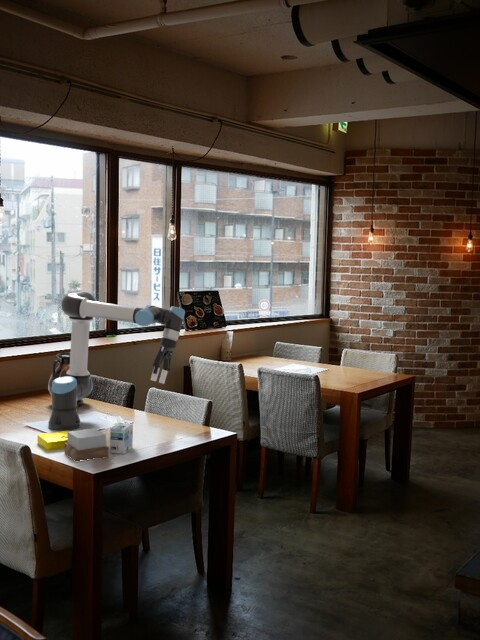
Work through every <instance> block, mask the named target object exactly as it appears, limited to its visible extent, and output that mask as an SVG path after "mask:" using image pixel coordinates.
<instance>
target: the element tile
mask: <svg viewBox="0 0 480 640" xmlns="http://www.w3.org/2000/svg"><path fill="white" fill-rule="evenodd" d="M67 432H70V430H60V431H54V432H53V431H52V432H46V433H45V432H44V433H38V434H37V438H36V439H37V442H36V443H37V445H38V446H40V447H41V448H42V449H43V450H44V451H47V452H53V451H58V450H65V443H67Z"/></svg>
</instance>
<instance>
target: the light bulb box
mask: <svg viewBox="0 0 480 640" xmlns="http://www.w3.org/2000/svg"><path fill="white" fill-rule="evenodd" d="M133 430H134V424H133V423H123V422H118V423H117V424H115V425H113V426H112V427H110V430H109V433H110V434H109V435H110V437H109V439H110V440H109V442H110V444H109V446H110V447H109V450H110V451H109V452H110V454H111V453H113V454H120V455H121V454H122V455H124V454H126V453H128V452H129V451H131V449H133V447H134V446H133V445H134V444H133V443H134V442H133V441H134V440H133V437H134V431H133Z"/></svg>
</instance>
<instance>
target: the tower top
mask: <svg viewBox="0 0 480 640" xmlns="http://www.w3.org/2000/svg"><path fill="white" fill-rule="evenodd" d="M69 431H70V430H69ZM106 438H107V434H105V433H104V432H102V431H101V430H98V429H96V428H87V429H78V430H72V431H70V432H67V443H68V444H69V445H71V446H72V447H74V448H76V449H77V450H85V449H91V448H98V447H104V446H107V445H106V444H107V439H106Z"/></svg>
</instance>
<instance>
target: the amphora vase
mask: <svg viewBox="0 0 480 640" xmlns="http://www.w3.org/2000/svg"><path fill="white" fill-rule="evenodd" d="M55 356H56V357H57V358H58V359H55V360H54V361H53V363H52V366H51V374H50V377H49V380H48V385H47V386H48V387H47V389H48V392H49V394H50V396H51V397H52V382H53V381H54V380H55V379H57V378H61V377H66V372H67V371H68V370H69V369H70V352H60V353H57V354H56V355H55ZM57 363H58V366H57V367H56V365H57ZM84 403H85V401H84V398H83V399H80V400H78V401H77V407H80V406H81V405H83V404H84Z"/></svg>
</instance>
